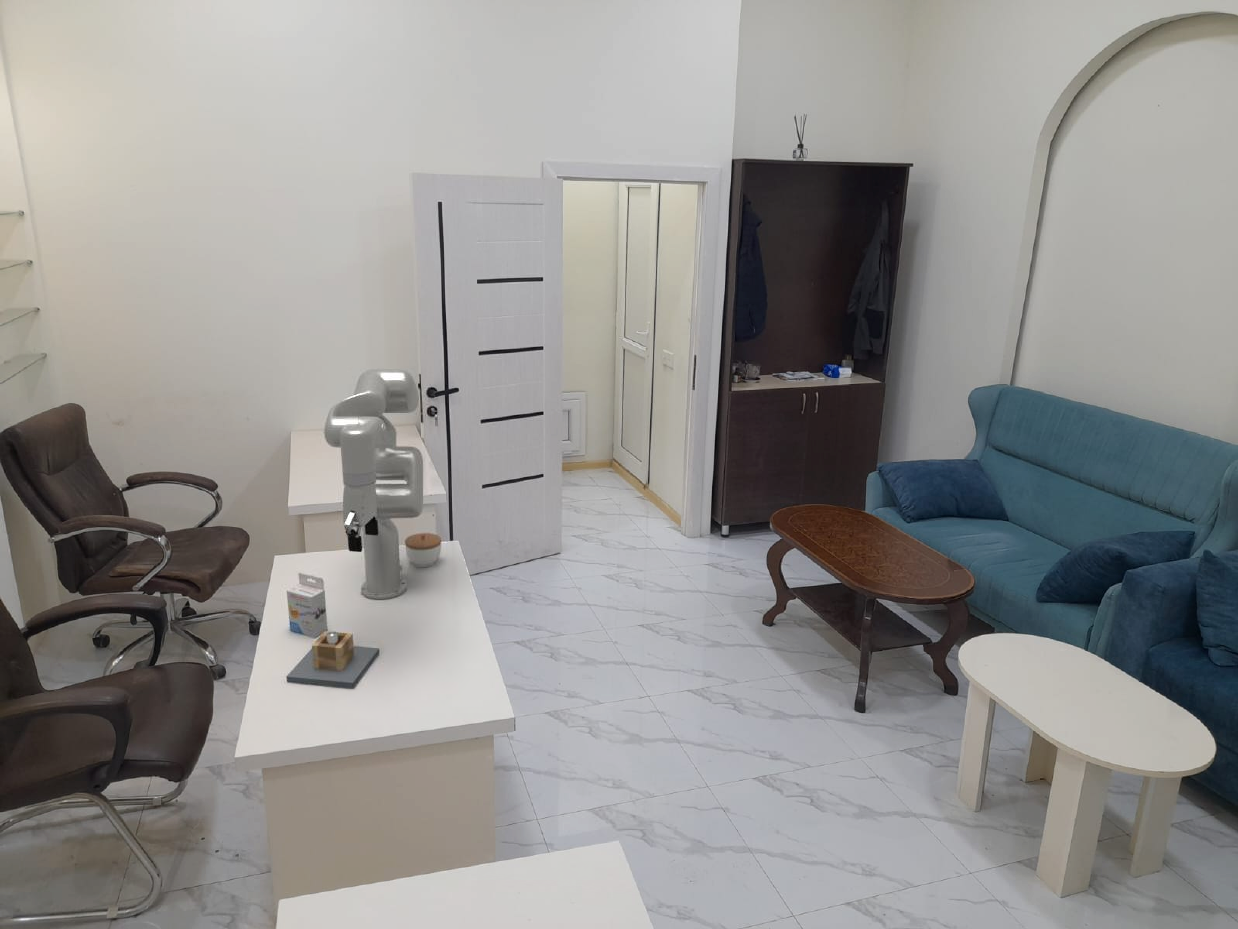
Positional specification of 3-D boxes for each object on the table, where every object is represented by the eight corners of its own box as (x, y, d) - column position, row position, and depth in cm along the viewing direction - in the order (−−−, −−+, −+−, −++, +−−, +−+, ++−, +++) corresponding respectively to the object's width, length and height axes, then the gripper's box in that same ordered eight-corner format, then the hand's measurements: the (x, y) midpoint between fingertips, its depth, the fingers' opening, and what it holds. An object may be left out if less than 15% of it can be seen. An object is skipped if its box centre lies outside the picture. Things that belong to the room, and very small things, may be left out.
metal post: (331, 658, 213) (329, 631, 211) (341, 659, 213) (339, 631, 210) (327, 664, 211) (324, 635, 208) (336, 665, 211) (334, 636, 208)
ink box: (289, 631, 228) (284, 579, 224) (302, 623, 233) (298, 571, 228) (315, 638, 225) (310, 585, 221) (328, 630, 230) (324, 578, 225)
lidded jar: (406, 571, 265) (404, 542, 262) (405, 557, 275) (404, 529, 272) (442, 569, 267) (441, 540, 264) (441, 554, 277) (440, 527, 274)
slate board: (317, 648, 221) (317, 642, 220) (379, 653, 219) (379, 648, 218) (286, 682, 206) (286, 676, 205) (353, 688, 204) (352, 682, 203)
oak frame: (326, 653, 215) (324, 631, 214) (354, 655, 215) (352, 633, 213) (313, 668, 209) (311, 645, 207) (342, 670, 208) (340, 648, 206)
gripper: (359, 463, 219) (363, 527, 225) (328, 488, 203) (333, 556, 208) (388, 466, 218) (392, 530, 224) (359, 491, 202) (364, 559, 208)
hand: (363, 542), depth 216 cm, fingers open, 9 cm apart
